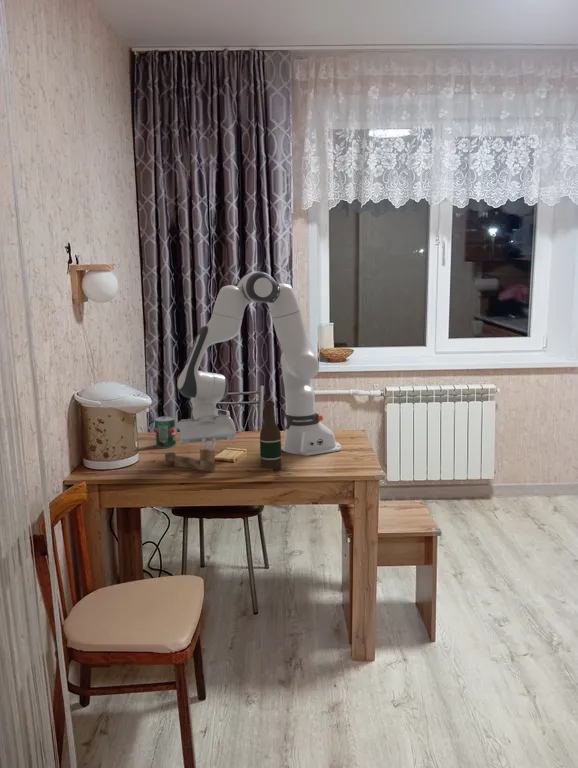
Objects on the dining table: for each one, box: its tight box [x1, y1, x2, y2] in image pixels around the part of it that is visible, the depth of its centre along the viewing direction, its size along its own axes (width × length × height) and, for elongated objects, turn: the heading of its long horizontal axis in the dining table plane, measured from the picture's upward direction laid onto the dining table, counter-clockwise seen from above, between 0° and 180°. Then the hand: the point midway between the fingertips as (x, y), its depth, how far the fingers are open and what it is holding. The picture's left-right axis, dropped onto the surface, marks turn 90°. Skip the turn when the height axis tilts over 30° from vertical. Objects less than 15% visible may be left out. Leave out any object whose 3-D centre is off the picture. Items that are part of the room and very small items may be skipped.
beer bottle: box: [259, 400, 282, 473], centre depth 236 cm, size 8×8×24 cm
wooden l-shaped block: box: [164, 447, 216, 473], centre depth 239 cm, size 20×9×8 cm, turn 62°
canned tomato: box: [154, 415, 177, 449], centre depth 271 cm, size 8×8×11 cm
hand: (210, 450), depth 242 cm, fingers closed
